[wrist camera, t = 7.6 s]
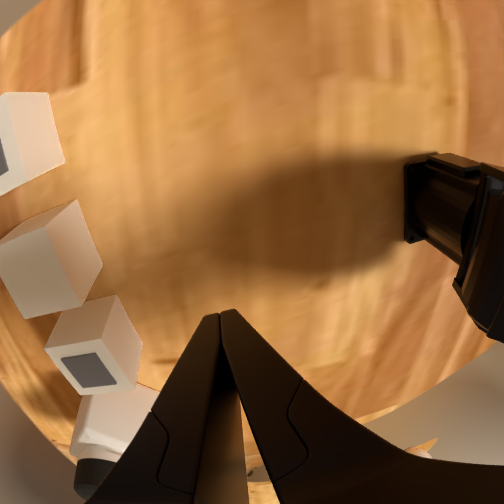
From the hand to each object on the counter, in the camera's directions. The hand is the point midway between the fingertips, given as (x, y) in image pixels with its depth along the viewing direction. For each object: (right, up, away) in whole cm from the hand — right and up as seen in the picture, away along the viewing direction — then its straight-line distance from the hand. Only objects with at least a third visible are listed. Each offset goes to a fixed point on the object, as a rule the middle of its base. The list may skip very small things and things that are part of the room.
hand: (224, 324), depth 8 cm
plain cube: (-12, +3, +10) cm, 16 cm away
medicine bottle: (-12, -12, +18) cm, 25 cm away
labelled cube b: (-14, +9, +7) cm, 18 cm away
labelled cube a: (-11, -4, +14) cm, 18 cm away
